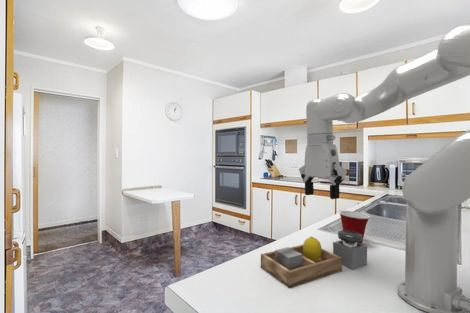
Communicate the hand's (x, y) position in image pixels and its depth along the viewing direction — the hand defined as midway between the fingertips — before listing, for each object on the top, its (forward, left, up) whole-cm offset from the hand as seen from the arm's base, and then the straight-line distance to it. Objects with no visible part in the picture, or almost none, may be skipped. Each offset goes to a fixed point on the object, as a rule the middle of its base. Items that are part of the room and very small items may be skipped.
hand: (321, 196), depth 74 cm
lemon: (+2, +2, -21) cm, 21 cm away
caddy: (+2, +7, -22) cm, 23 cm away
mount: (-2, -10, -22) cm, 24 cm away
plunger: (-2, -10, -21) cm, 23 cm away
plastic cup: (+8, -26, -22) cm, 35 cm away
